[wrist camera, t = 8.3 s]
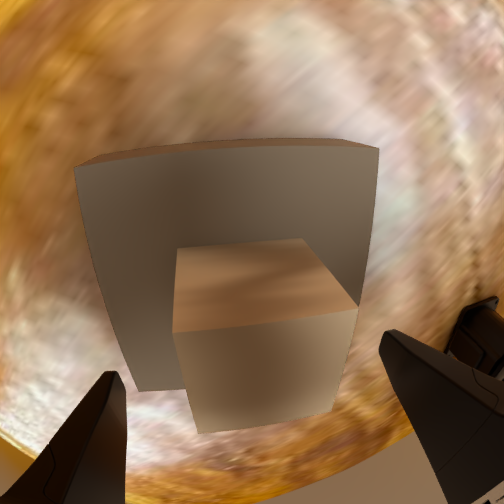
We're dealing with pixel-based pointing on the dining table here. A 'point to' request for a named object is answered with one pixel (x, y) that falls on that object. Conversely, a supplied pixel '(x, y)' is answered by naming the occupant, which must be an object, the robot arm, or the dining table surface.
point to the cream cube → (259, 333)
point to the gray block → (215, 223)
